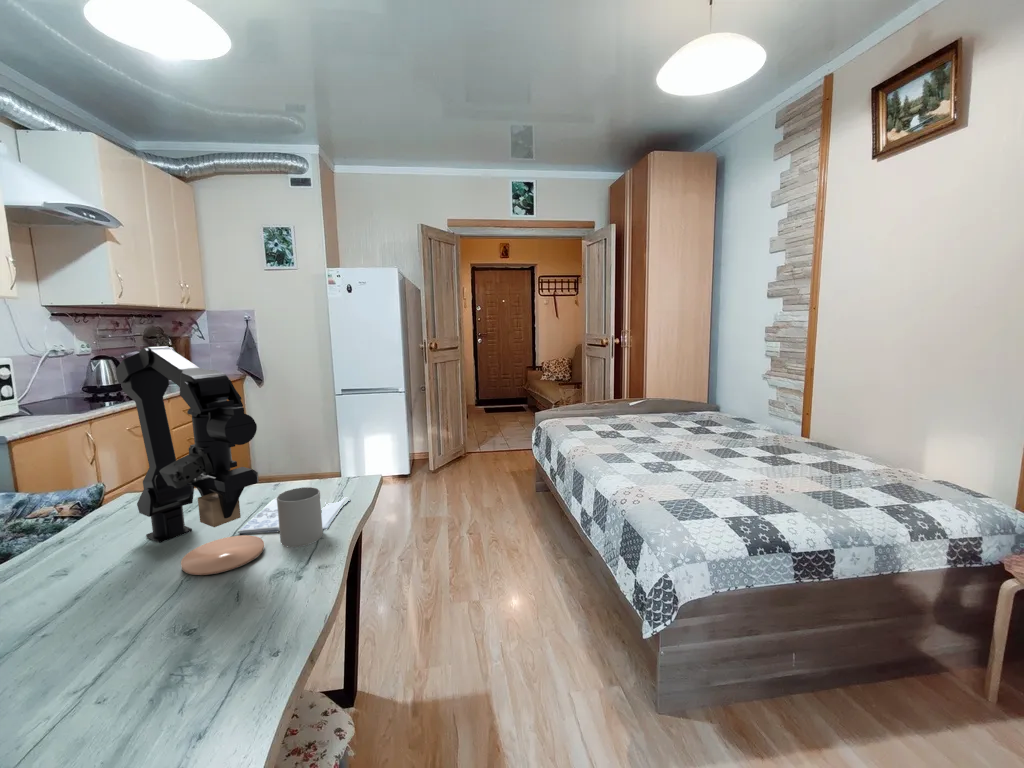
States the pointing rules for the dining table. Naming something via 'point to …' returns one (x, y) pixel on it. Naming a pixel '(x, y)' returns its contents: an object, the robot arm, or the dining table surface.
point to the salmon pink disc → (222, 555)
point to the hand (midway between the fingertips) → (220, 514)
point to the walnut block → (214, 511)
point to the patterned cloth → (270, 521)
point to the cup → (299, 516)
